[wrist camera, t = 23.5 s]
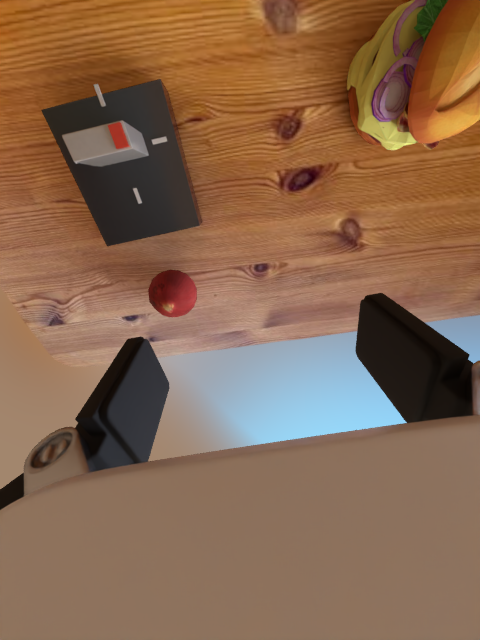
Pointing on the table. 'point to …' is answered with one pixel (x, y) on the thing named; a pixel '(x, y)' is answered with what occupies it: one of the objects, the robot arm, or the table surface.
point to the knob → (106, 144)
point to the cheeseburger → (418, 75)
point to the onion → (172, 293)
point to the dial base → (132, 164)
